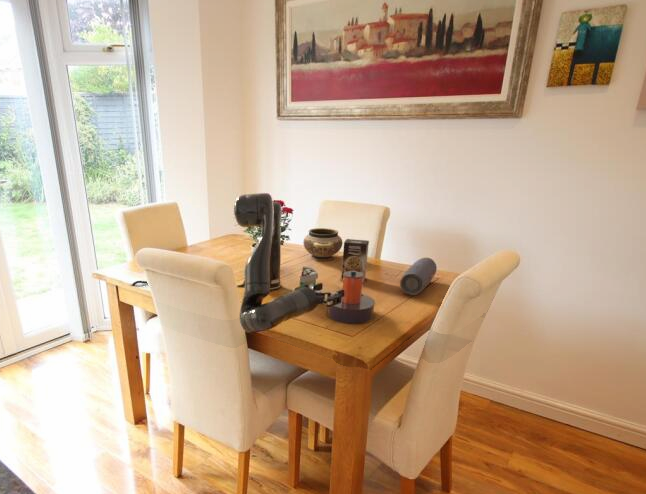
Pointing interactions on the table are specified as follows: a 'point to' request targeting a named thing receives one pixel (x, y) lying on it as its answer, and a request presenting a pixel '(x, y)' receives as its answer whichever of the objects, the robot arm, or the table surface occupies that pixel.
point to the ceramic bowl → (322, 243)
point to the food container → (308, 276)
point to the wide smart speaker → (353, 311)
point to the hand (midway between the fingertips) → (332, 289)
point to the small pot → (352, 287)
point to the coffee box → (355, 256)
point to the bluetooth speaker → (418, 276)
